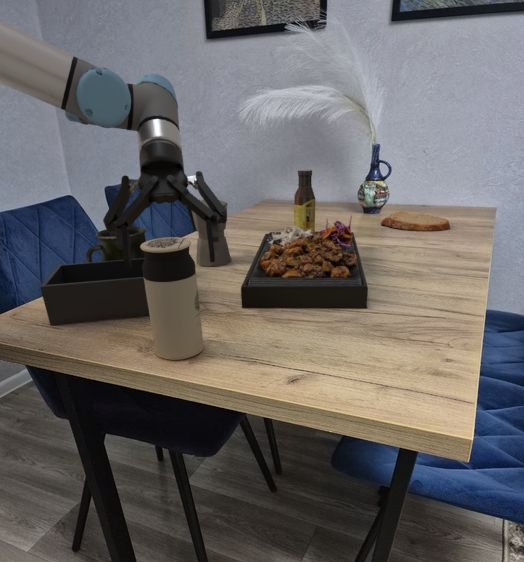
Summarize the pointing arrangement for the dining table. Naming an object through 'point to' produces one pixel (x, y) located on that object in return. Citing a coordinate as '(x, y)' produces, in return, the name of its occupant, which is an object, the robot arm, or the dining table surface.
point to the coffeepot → (202, 244)
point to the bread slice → (416, 222)
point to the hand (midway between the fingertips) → (170, 261)
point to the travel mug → (172, 297)
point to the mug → (111, 249)
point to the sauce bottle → (304, 202)
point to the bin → (95, 292)
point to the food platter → (306, 270)
